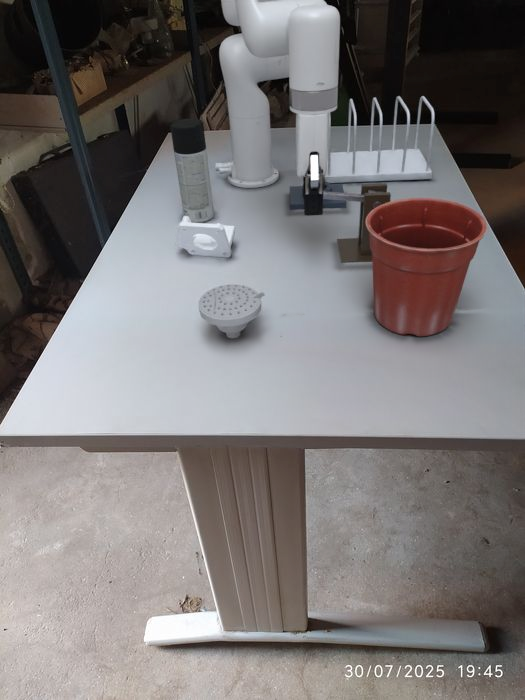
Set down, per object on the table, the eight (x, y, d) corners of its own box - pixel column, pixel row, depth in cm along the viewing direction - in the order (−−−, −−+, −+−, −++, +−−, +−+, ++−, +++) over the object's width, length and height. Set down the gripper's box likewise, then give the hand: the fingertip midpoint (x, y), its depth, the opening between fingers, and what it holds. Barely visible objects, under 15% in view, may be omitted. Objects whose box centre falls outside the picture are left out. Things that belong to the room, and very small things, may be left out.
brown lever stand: (340, 267, 99) (343, 201, 91) (336, 244, 106) (339, 180, 98) (407, 265, 98) (415, 198, 90) (398, 242, 105) (406, 177, 97)
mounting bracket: (176, 259, 108) (159, 224, 99) (184, 234, 111) (168, 198, 101) (233, 264, 105) (222, 228, 96) (240, 238, 108) (229, 201, 99)
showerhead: (267, 309, 76) (197, 316, 76) (269, 349, 81) (203, 356, 81) (261, 275, 84) (197, 281, 83) (264, 314, 88) (203, 319, 88)
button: (309, 191, 117) (309, 183, 116) (308, 185, 120) (308, 177, 119) (325, 190, 117) (325, 183, 116) (324, 184, 120) (324, 176, 119)
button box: (290, 214, 117) (289, 196, 115) (289, 195, 125) (289, 178, 123) (345, 211, 117) (346, 194, 114) (341, 193, 125) (342, 176, 122)
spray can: (219, 213, 120) (209, 118, 107) (204, 226, 115) (192, 129, 103) (194, 209, 122) (181, 116, 110) (178, 221, 117) (162, 126, 105)
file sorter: (418, 155, 141) (426, 91, 131) (431, 181, 127) (441, 111, 118) (321, 159, 143) (322, 96, 133) (324, 184, 129) (326, 116, 119)
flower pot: (352, 339, 82) (358, 244, 72) (365, 283, 94) (372, 194, 84) (466, 353, 78) (489, 254, 68) (465, 292, 90) (484, 200, 80)
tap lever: (308, 207, 93) (310, 194, 92) (307, 193, 98) (309, 180, 96) (384, 213, 93) (386, 199, 92) (379, 198, 98) (381, 186, 97)
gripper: (289, 85, 92) (291, 187, 103) (289, 115, 78) (291, 229, 90) (333, 83, 91) (330, 186, 103) (341, 113, 78) (337, 227, 89)
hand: (312, 205), depth 96 cm, fingers closed on tap lever, 6 cm apart
